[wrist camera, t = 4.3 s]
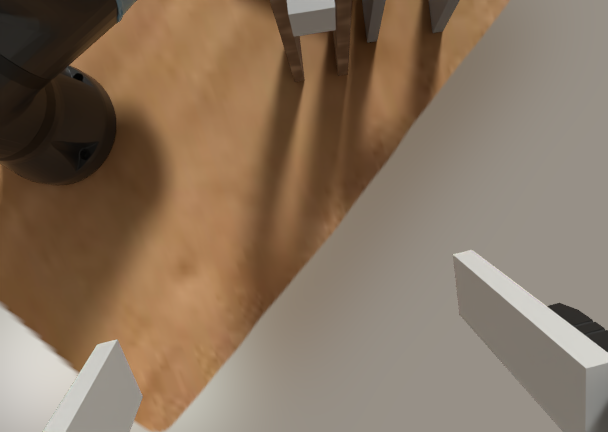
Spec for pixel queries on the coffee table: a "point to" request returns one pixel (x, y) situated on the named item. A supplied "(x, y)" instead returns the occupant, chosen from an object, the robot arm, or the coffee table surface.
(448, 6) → the short stand
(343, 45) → the tall stand
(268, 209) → the coffee table surface
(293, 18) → the plug
